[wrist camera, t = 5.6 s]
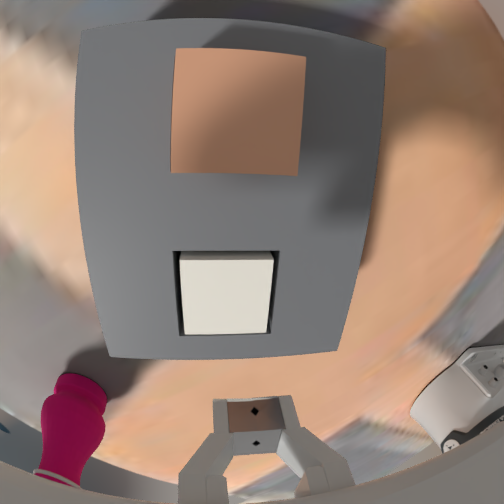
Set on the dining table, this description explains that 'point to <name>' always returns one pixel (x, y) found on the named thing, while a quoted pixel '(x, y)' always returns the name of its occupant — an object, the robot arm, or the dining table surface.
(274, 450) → the robot arm
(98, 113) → the button console
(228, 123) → the tan cube
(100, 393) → the pepper mill
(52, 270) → the dining table surface
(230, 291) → the cream plunger
